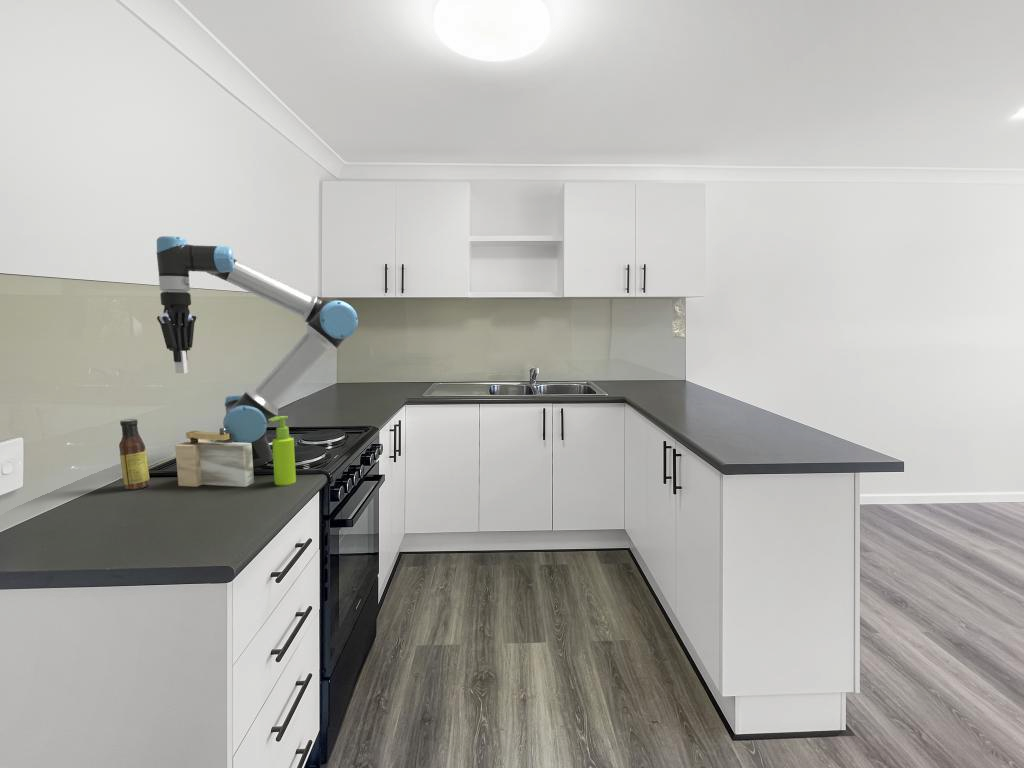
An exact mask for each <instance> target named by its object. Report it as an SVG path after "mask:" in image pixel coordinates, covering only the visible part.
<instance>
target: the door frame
mask: <svg viewBox="0 0 1024 768" xmlns="http://www.w3.org/2000/svg"><path fill="white" fill-rule="evenodd" d="M229 437H230V439H227V440H221V441H214V440H209V439H195V438H192V439H190V438H189V439H190V440H188V441H185V442H182V443H179V444H175V446H174V448H175V458H176V470H177V471H176V472H177V482H178V486H179V487H194V488H195V487H199V486H202V485H203V486H223V487H248V486H250V485H252V484H254V483H255V479H254V478H255V477H254V476H255V475H254V467H253V459H252V443H238V442H234V436H233V433H229Z"/></svg>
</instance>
